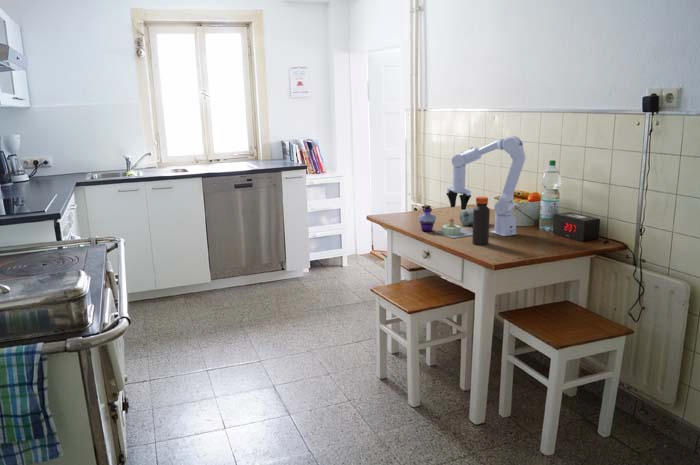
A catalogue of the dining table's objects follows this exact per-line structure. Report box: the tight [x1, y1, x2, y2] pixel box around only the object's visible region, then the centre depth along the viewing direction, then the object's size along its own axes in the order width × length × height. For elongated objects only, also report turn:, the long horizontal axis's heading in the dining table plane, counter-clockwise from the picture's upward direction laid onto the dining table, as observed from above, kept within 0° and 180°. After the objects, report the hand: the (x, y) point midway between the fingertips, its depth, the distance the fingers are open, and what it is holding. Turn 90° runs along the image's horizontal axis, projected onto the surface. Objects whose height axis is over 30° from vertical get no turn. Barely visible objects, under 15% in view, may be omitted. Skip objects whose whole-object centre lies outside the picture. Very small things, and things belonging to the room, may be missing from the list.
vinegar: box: [471, 196, 491, 246], centre depth 245 cm, size 7×7×20 cm
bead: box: [441, 224, 461, 235], centre depth 265 cm, size 8×8×3 cm
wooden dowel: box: [448, 217, 455, 228], centre depth 265 cm, size 2×2×7 cm
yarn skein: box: [459, 207, 475, 226], centre depth 283 cm, size 14×10×10 cm
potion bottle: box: [418, 204, 437, 233], centre depth 271 cm, size 9×9×12 cm
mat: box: [434, 227, 473, 239], centre depth 266 cm, size 14×16×1 cm
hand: (458, 208), depth 273 cm, fingers open, 7 cm apart
